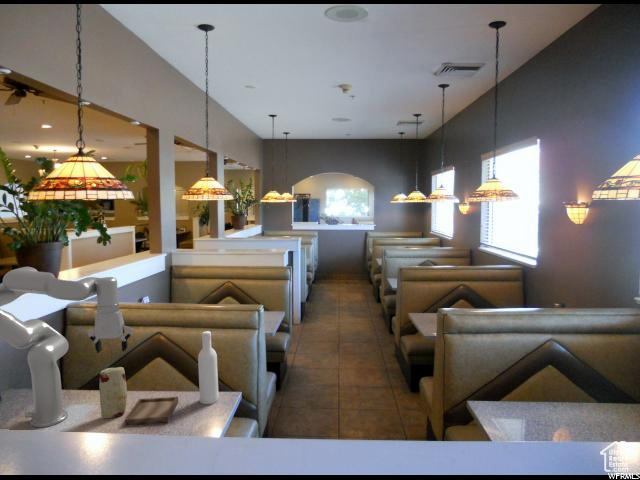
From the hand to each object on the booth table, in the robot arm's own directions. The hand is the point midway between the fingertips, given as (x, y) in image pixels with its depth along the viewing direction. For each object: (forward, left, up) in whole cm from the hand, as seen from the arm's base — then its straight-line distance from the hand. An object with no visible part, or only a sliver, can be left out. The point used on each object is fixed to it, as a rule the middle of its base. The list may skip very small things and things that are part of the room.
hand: (111, 351), depth 175 cm
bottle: (+36, +9, -27) cm, 45 cm away
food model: (0, 0, -27) cm, 27 cm away
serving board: (+15, 0, -27) cm, 30 cm away
